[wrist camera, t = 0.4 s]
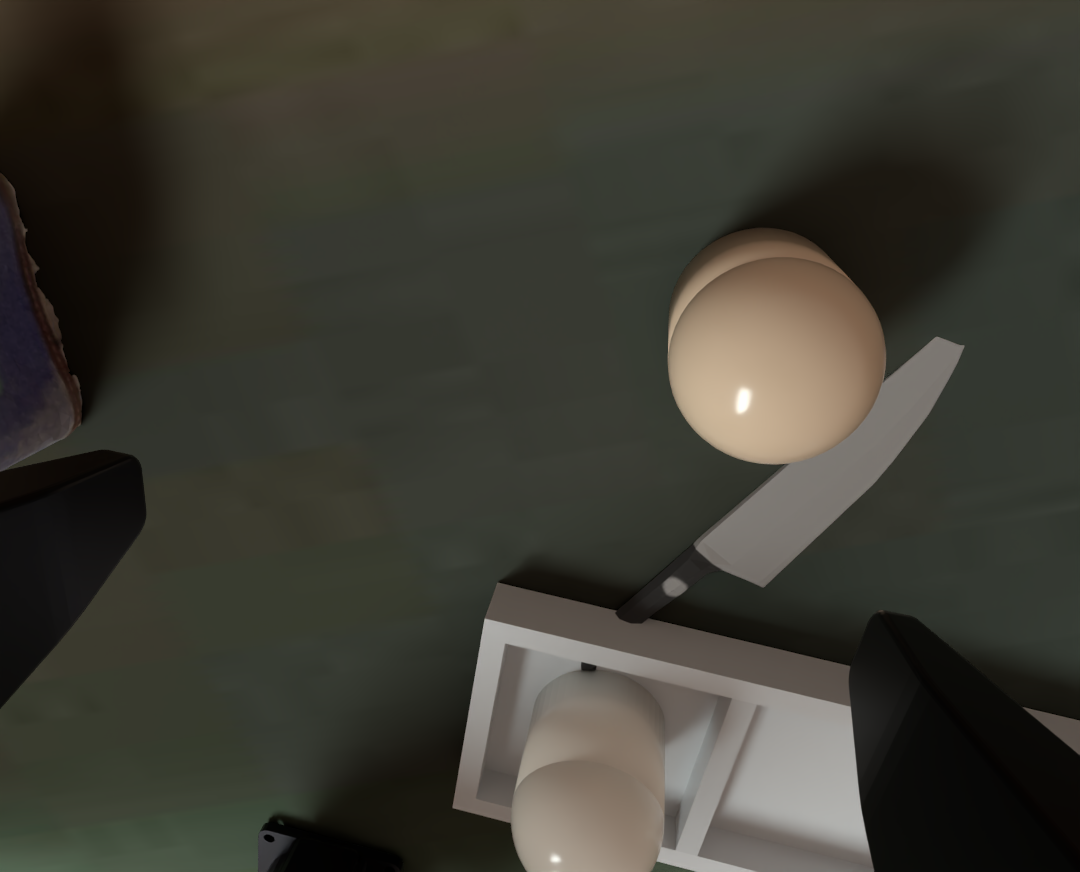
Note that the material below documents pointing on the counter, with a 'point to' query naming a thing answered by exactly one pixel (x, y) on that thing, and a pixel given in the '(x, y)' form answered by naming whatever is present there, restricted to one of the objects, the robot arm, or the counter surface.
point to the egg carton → (689, 733)
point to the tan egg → (772, 348)
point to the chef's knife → (805, 491)
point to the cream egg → (591, 777)
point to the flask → (29, 351)
